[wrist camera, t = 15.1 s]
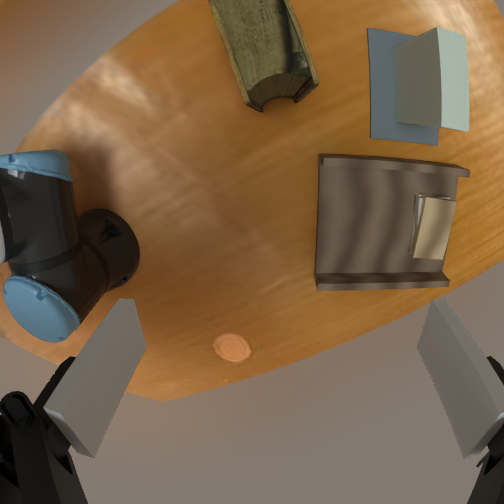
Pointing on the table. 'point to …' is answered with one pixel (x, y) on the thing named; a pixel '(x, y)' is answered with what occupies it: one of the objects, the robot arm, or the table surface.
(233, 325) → the table surface
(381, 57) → the mat
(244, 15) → the book
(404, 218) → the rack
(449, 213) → the offcut oak
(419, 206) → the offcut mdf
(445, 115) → the upright sage slab
